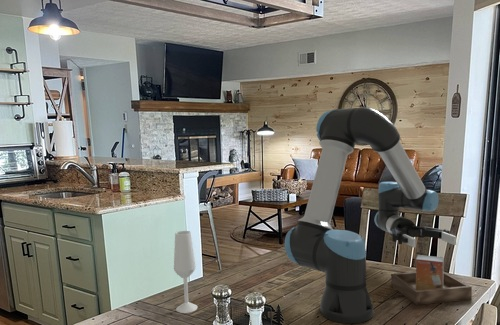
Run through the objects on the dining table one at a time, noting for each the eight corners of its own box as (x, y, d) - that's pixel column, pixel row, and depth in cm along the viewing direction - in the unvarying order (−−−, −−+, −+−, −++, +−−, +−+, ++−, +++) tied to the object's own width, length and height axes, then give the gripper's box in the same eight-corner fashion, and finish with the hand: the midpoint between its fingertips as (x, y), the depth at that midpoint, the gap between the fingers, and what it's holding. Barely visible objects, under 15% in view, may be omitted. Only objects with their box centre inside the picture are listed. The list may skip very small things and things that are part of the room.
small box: (415, 290, 128) (415, 258, 128) (417, 284, 133) (417, 253, 132) (443, 294, 125) (443, 261, 124) (443, 288, 129) (443, 256, 129)
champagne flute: (182, 302, 128) (178, 229, 127) (201, 304, 126) (197, 230, 125) (172, 311, 122) (167, 235, 120) (191, 314, 120) (187, 235, 118)
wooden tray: (416, 305, 120) (416, 292, 120) (391, 285, 136) (391, 273, 135) (471, 299, 122) (471, 286, 122) (440, 280, 138) (440, 269, 138)
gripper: (432, 235, 147) (471, 251, 126) (368, 239, 144) (397, 256, 123) (432, 215, 147) (471, 228, 126) (368, 219, 144) (397, 232, 123)
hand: (435, 242), depth 124 cm, fingers open, 13 cm apart
